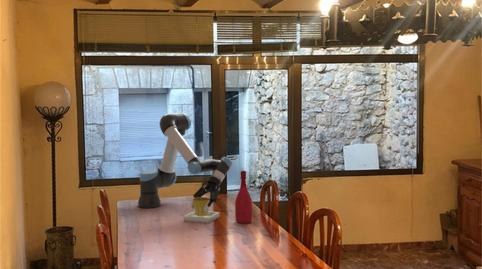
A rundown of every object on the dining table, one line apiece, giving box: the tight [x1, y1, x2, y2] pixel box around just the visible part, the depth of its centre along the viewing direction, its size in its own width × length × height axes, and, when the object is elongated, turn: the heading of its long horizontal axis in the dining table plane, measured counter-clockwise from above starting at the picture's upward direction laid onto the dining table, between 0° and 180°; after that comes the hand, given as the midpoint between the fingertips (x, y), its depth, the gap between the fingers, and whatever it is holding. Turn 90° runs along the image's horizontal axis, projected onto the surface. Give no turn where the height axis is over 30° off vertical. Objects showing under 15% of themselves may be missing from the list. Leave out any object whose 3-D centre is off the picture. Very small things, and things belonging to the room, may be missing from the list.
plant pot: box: [192, 196, 210, 216], centre depth 307 cm, size 10×10×10 cm
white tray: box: [183, 210, 220, 224], centre depth 307 cm, size 16×16×3 cm
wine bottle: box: [234, 170, 253, 224], centre depth 299 cm, size 10×10×30 cm
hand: (198, 209), depth 305 cm, fingers closed on plant pot, 10 cm apart
